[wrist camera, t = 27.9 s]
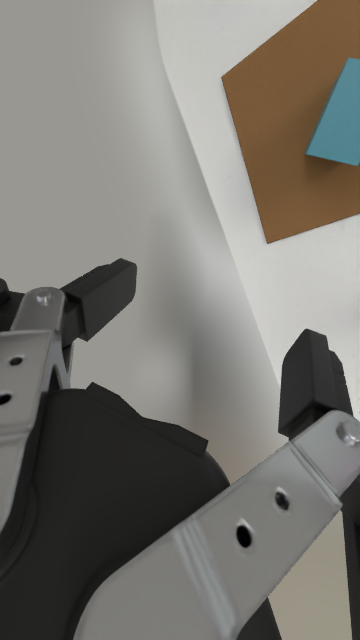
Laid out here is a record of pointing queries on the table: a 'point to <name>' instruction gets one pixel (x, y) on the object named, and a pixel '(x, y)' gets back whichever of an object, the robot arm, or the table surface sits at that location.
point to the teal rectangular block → (340, 119)
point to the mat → (295, 119)
